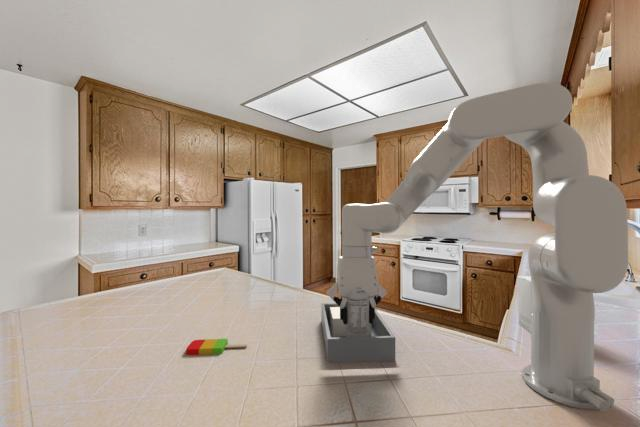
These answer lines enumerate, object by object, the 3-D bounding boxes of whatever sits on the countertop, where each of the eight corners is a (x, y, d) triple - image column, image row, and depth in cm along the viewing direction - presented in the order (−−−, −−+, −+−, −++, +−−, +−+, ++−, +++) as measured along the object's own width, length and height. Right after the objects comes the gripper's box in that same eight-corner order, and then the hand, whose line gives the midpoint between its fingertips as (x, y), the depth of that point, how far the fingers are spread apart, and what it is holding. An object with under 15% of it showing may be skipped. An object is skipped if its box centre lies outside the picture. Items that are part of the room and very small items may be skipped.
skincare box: (557, 336, 78) (557, 282, 77) (530, 334, 79) (531, 281, 79) (539, 324, 86) (540, 275, 86) (516, 322, 87) (516, 274, 87)
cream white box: (371, 335, 76) (371, 317, 76) (332, 336, 76) (332, 318, 76) (364, 322, 85) (364, 306, 85) (329, 323, 85) (329, 307, 85)
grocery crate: (395, 364, 64) (395, 337, 64) (327, 367, 63) (327, 339, 63) (370, 322, 88) (370, 302, 88) (321, 323, 87) (321, 303, 87)
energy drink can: (371, 339, 71) (371, 282, 71) (367, 350, 66) (366, 289, 66) (348, 335, 73) (348, 280, 73) (343, 346, 68) (342, 286, 68)
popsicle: (192, 346, 74) (192, 339, 74) (248, 343, 75) (248, 337, 75) (184, 357, 68) (184, 349, 68) (245, 354, 69) (244, 347, 69)
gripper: (385, 249, 74) (385, 315, 74) (322, 250, 73) (322, 317, 73) (394, 253, 66) (395, 327, 66) (324, 254, 65) (324, 329, 65)
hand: (357, 321), depth 70 cm, fingers closed on energy drink can, 6 cm apart
